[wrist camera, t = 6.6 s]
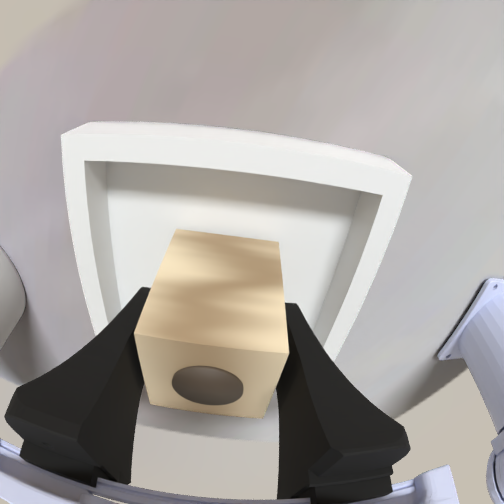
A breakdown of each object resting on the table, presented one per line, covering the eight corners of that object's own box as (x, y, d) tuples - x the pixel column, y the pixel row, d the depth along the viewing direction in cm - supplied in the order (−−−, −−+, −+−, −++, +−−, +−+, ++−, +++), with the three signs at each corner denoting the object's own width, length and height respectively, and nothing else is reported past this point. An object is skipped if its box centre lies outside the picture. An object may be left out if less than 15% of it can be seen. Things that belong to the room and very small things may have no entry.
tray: (386, 156, 12) (412, 176, 10) (314, 353, 19) (320, 384, 17) (90, 121, 11) (61, 135, 9) (115, 332, 18) (104, 362, 16)
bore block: (278, 241, 14) (289, 357, 8) (261, 314, 16) (262, 421, 11) (176, 228, 13) (132, 337, 8) (176, 303, 16) (149, 407, 11)
